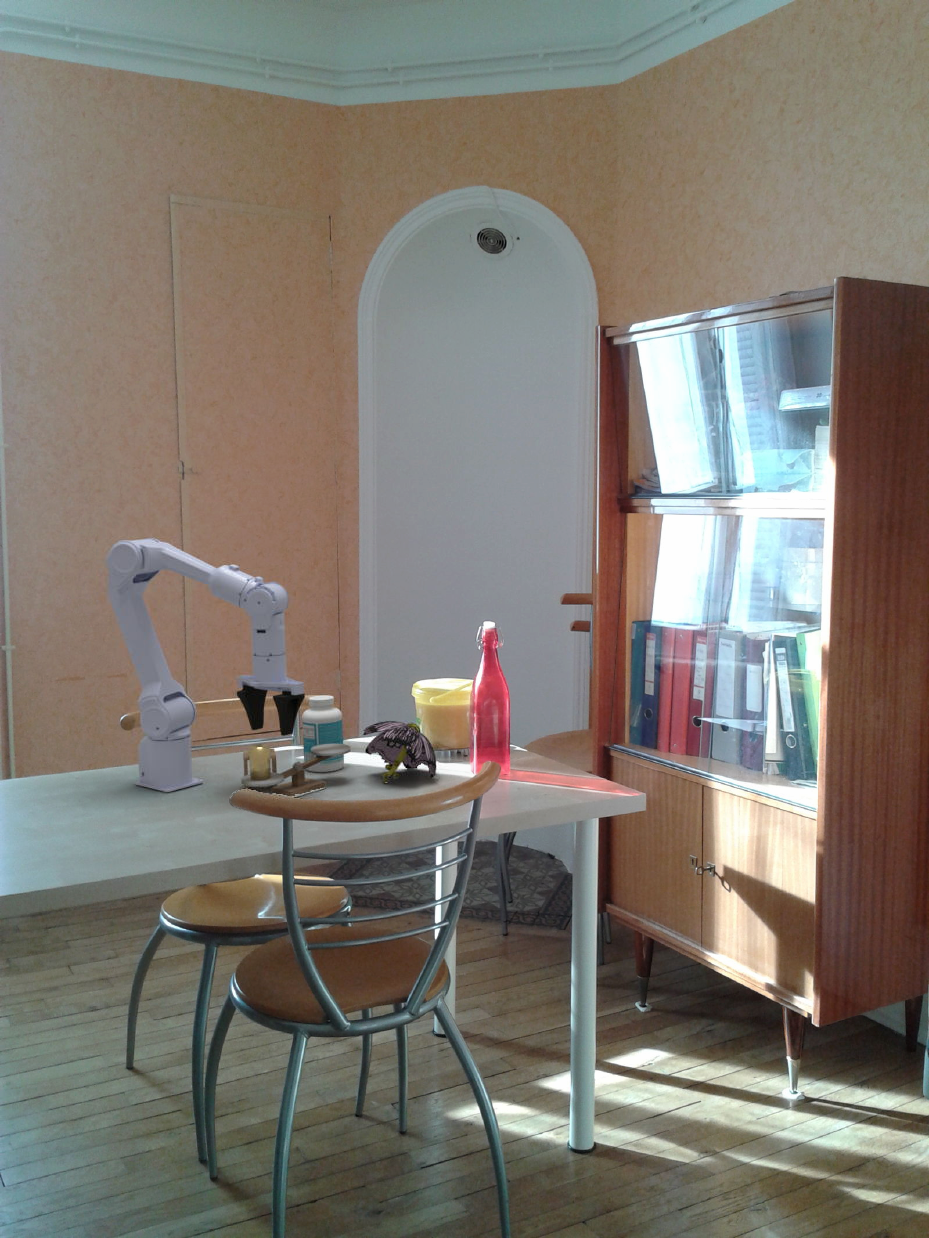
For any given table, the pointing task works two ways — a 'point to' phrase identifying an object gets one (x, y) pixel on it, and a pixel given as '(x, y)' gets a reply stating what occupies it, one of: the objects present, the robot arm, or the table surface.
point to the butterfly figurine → (401, 747)
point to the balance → (299, 772)
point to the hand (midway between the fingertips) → (272, 731)
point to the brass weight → (259, 762)
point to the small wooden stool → (246, 757)
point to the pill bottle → (322, 731)
